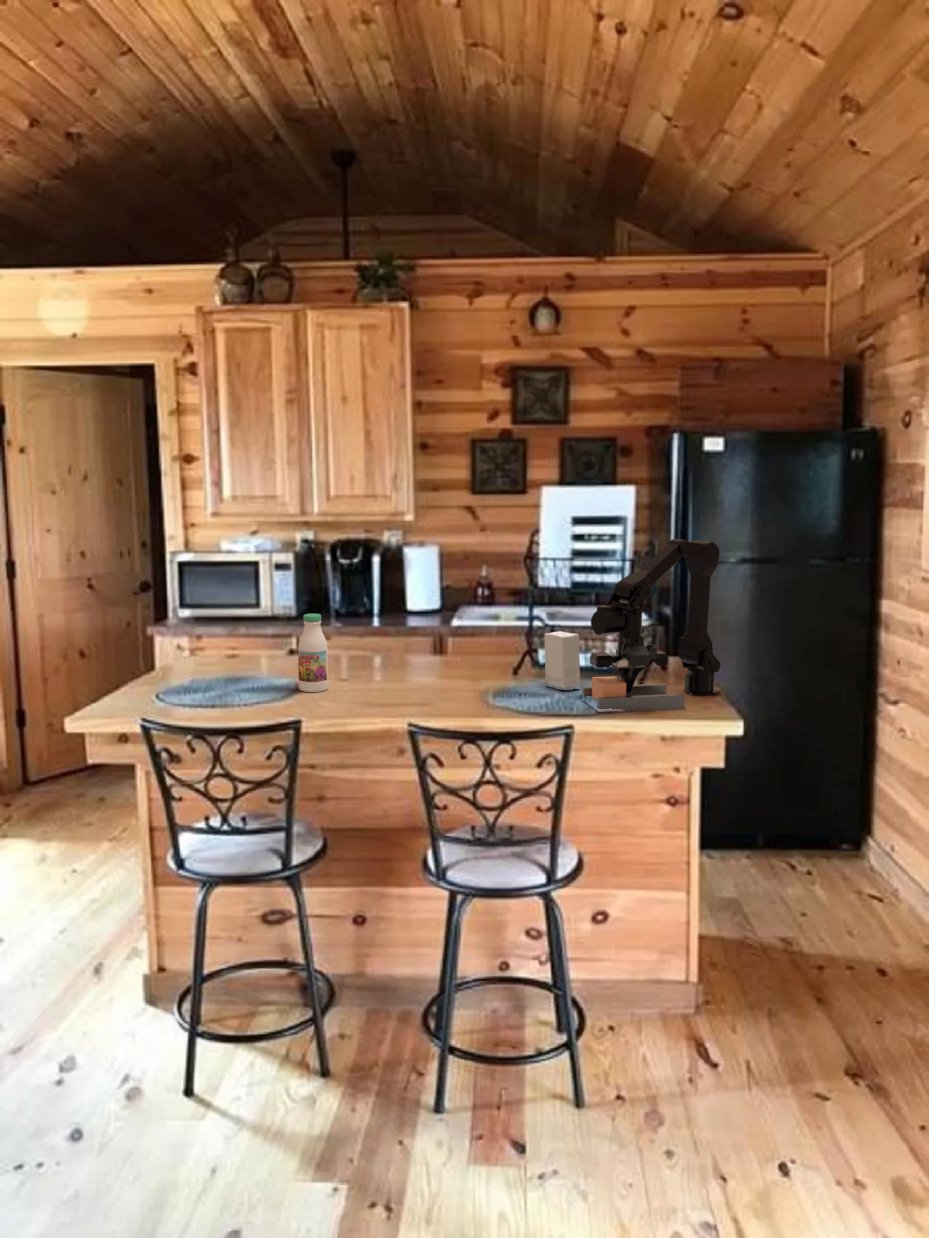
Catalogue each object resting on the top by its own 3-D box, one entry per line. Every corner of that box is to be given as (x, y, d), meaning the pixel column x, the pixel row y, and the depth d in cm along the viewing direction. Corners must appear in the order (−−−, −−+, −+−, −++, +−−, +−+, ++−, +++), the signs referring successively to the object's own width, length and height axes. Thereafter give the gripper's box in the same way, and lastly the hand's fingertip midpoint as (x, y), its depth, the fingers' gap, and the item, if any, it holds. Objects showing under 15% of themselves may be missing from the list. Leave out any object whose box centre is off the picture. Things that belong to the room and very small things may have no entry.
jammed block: (614, 695, 262) (615, 676, 261) (625, 703, 254) (626, 683, 253) (591, 696, 261) (592, 677, 260) (602, 704, 253) (602, 684, 252)
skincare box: (580, 689, 275) (581, 634, 273) (562, 692, 272) (563, 636, 269) (560, 683, 282) (561, 629, 280) (543, 686, 279) (544, 631, 276)
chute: (663, 696, 267) (664, 683, 267) (684, 709, 255) (684, 695, 254) (582, 700, 263) (582, 687, 262) (598, 713, 250) (599, 698, 250)
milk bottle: (301, 686, 277) (299, 612, 274) (330, 686, 277) (328, 612, 274) (296, 692, 270) (295, 616, 266) (326, 692, 270) (325, 616, 267)
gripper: (604, 637, 246) (603, 702, 248) (678, 635, 250) (676, 698, 252) (589, 630, 257) (588, 691, 259) (660, 627, 260) (658, 688, 263)
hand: (628, 692), depth 258 cm, fingers closed
